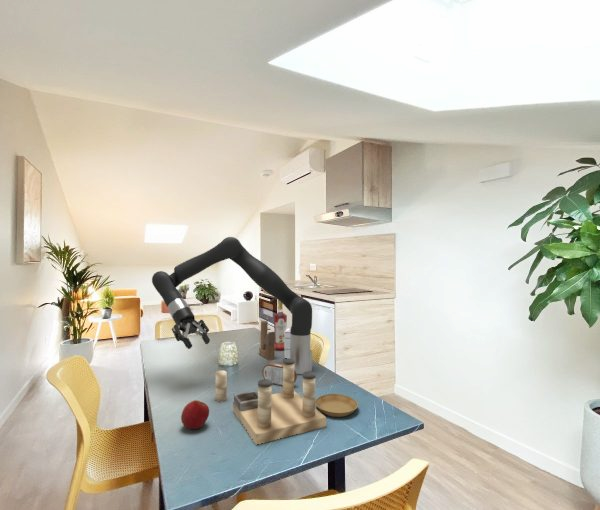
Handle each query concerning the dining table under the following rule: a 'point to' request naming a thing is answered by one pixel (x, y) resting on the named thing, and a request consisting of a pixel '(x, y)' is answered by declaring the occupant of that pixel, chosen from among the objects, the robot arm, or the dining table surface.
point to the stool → (279, 408)
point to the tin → (275, 373)
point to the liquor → (280, 327)
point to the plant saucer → (336, 405)
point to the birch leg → (221, 385)
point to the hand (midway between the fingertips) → (199, 345)
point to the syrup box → (287, 343)
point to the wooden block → (267, 342)
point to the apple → (194, 414)
